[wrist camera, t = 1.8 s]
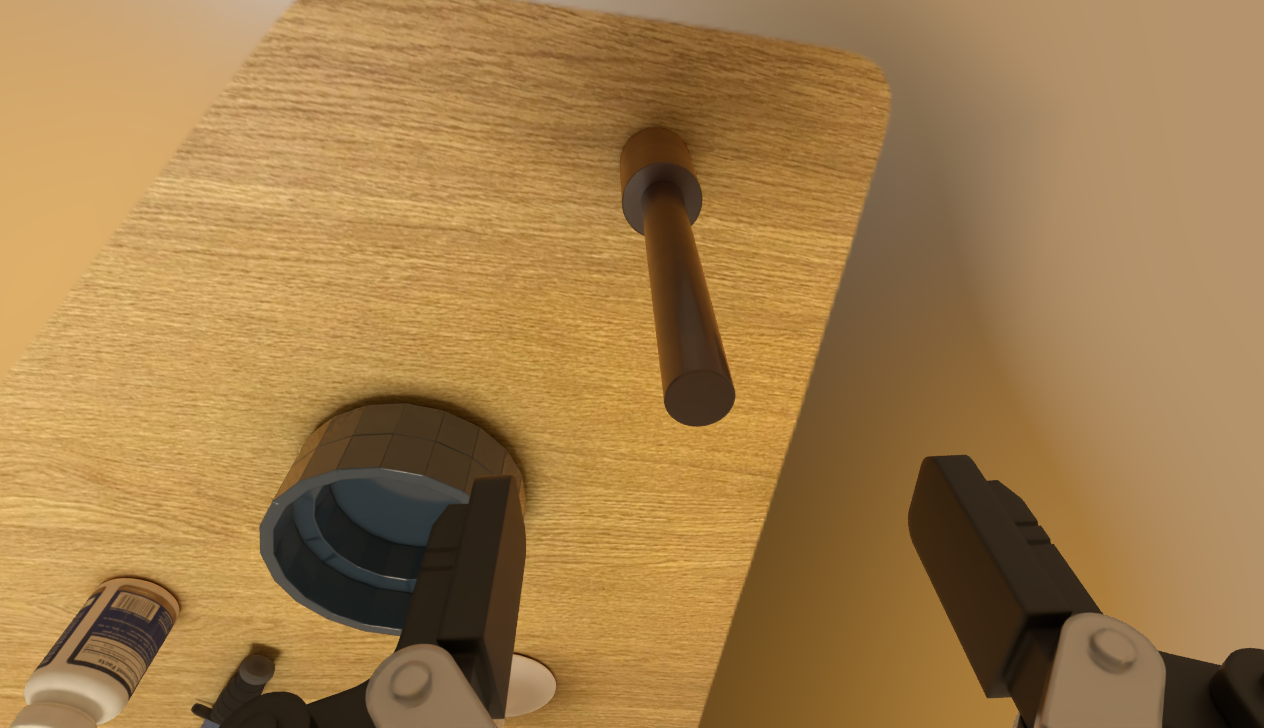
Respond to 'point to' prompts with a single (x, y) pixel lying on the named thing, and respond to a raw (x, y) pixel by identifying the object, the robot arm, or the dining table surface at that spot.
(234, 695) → the knife
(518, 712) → the wineglass
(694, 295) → the muddler
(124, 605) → the pill bottle
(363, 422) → the bowl
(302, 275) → the dining table surface
